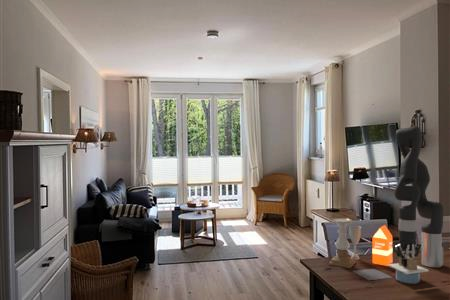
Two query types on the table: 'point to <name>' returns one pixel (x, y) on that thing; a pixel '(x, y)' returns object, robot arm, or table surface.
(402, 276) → the bowl
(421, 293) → the table surface
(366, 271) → the mat
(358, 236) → the chalice
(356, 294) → the table surface
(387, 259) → the orange juice
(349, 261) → the candle holder
